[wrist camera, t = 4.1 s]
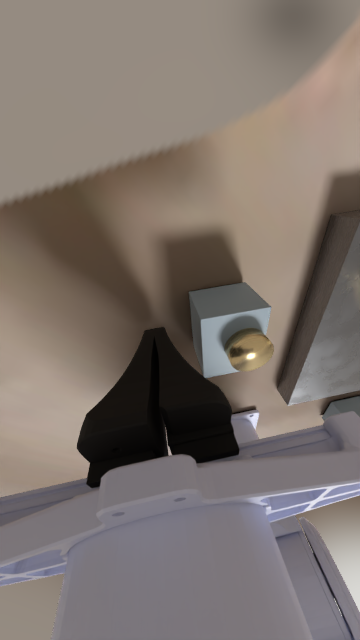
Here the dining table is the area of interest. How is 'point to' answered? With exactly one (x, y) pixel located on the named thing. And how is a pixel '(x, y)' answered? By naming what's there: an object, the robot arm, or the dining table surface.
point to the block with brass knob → (230, 329)
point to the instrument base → (328, 320)
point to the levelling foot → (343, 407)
